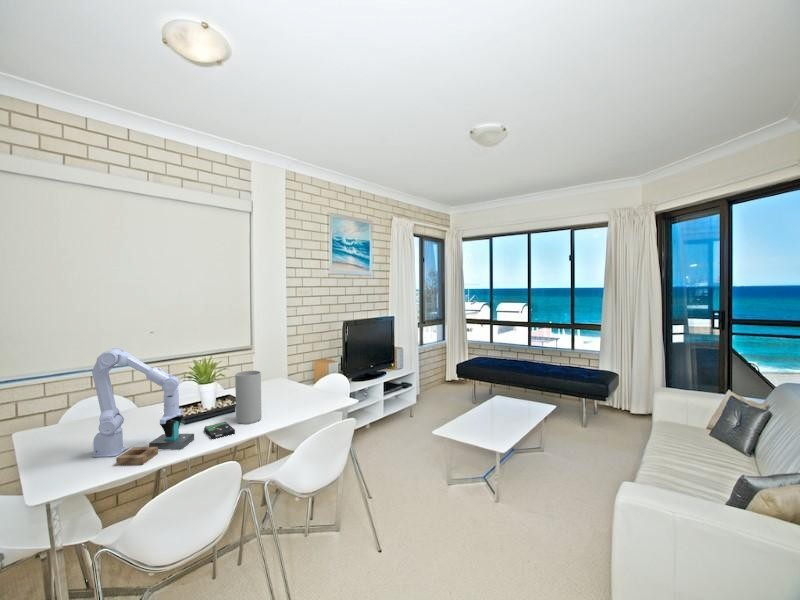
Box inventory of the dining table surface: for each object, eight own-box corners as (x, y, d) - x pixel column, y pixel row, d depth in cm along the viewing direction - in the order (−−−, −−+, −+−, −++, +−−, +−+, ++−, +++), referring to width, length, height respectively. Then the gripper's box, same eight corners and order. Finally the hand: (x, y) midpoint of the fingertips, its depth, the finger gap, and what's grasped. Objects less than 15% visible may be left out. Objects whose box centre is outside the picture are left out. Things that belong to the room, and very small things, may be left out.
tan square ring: (116, 465, 146) (116, 458, 146) (133, 454, 156) (133, 447, 156) (142, 464, 147) (142, 457, 147) (157, 453, 157) (157, 446, 157)
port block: (149, 450, 161) (149, 442, 160) (162, 440, 170) (162, 433, 170) (182, 449, 161) (182, 441, 161) (194, 439, 171) (193, 432, 171)
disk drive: (235, 435, 178) (225, 426, 189) (235, 429, 178) (225, 421, 189) (212, 441, 171) (203, 431, 182) (212, 435, 171) (203, 426, 182)
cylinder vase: (255, 424, 190) (254, 376, 190) (231, 424, 191) (230, 375, 190) (265, 416, 203) (264, 370, 202) (243, 415, 203) (242, 370, 203)
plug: (166, 446, 164) (165, 422, 164) (170, 443, 168) (170, 419, 167) (174, 446, 164) (173, 422, 164) (178, 443, 168) (178, 419, 167)
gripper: (171, 409, 158) (172, 440, 159) (189, 399, 173) (189, 428, 173) (154, 409, 158) (155, 441, 158) (173, 399, 172) (174, 428, 173)
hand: (172, 434), depth 166 cm, fingers open, 5 cm apart
